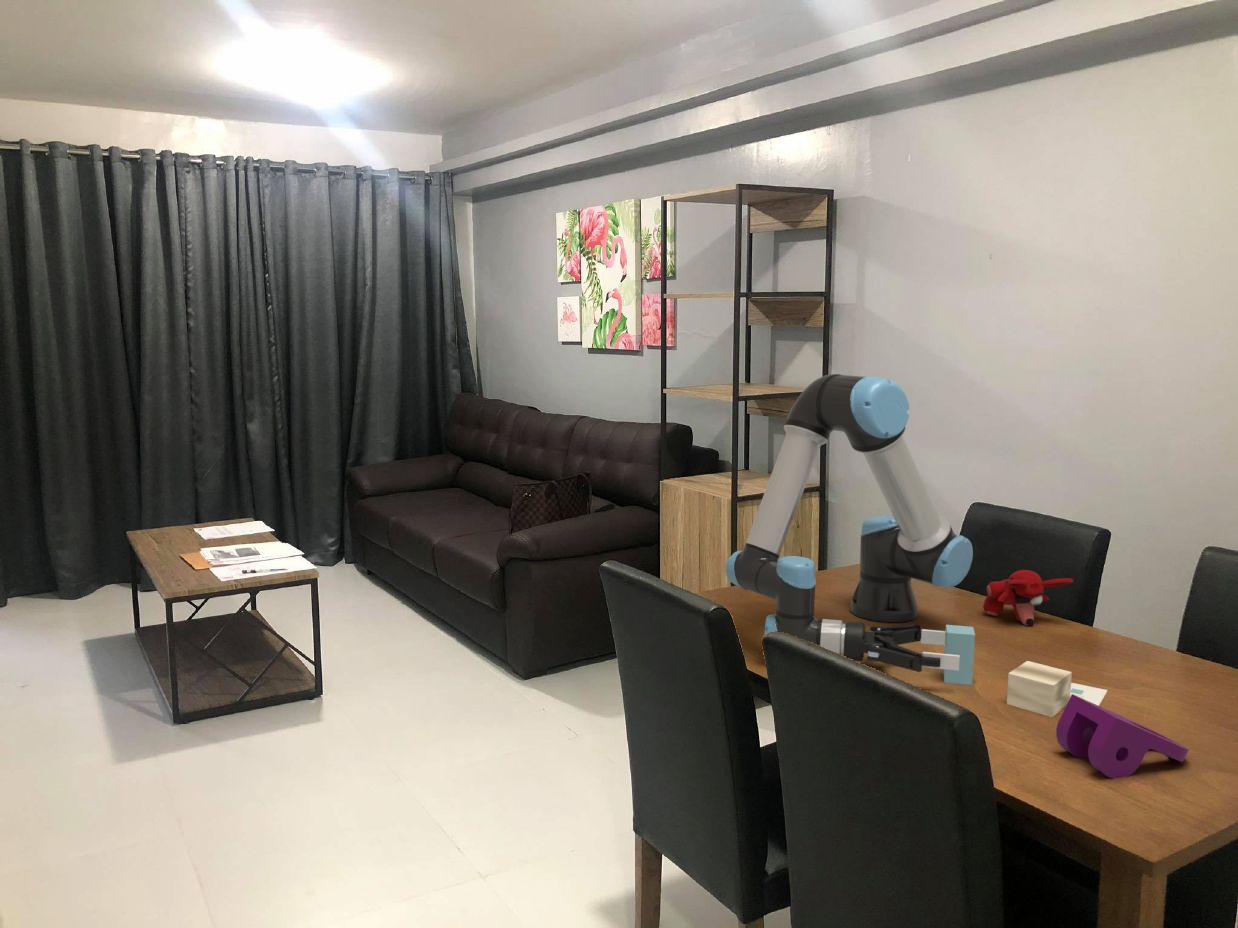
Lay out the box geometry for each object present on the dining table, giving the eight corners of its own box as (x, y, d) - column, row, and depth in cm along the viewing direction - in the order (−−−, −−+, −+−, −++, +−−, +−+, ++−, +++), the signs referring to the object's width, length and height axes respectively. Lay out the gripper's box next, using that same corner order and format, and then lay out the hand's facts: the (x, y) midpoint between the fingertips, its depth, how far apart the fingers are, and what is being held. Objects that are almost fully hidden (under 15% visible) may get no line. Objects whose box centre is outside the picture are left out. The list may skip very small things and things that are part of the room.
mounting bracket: (1131, 777, 162) (1047, 742, 157) (1154, 730, 162) (1071, 693, 157) (1178, 806, 153) (1091, 769, 148) (1202, 756, 153) (1116, 717, 147)
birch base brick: (1025, 691, 182) (1027, 660, 181) (1069, 703, 177) (1071, 671, 175) (1006, 704, 177) (1008, 673, 176) (1051, 717, 171) (1053, 685, 170)
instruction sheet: (1056, 680, 188) (1056, 678, 188) (1107, 691, 183) (1107, 689, 183) (1041, 700, 178) (1041, 698, 178) (1095, 712, 173) (1095, 710, 173)
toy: (976, 634, 227) (1017, 619, 212) (965, 582, 231) (1005, 564, 216) (1038, 631, 230) (1083, 617, 215) (1027, 580, 235) (1070, 562, 220)
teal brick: (943, 673, 192) (945, 624, 190) (970, 676, 190) (973, 626, 189) (944, 682, 187) (947, 632, 185) (972, 685, 186) (975, 634, 184)
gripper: (846, 638, 205) (953, 647, 200) (839, 680, 182) (959, 693, 176) (848, 603, 204) (955, 612, 199) (840, 642, 181) (962, 653, 175)
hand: (957, 650), depth 187 cm, fingers open, 13 cm apart
